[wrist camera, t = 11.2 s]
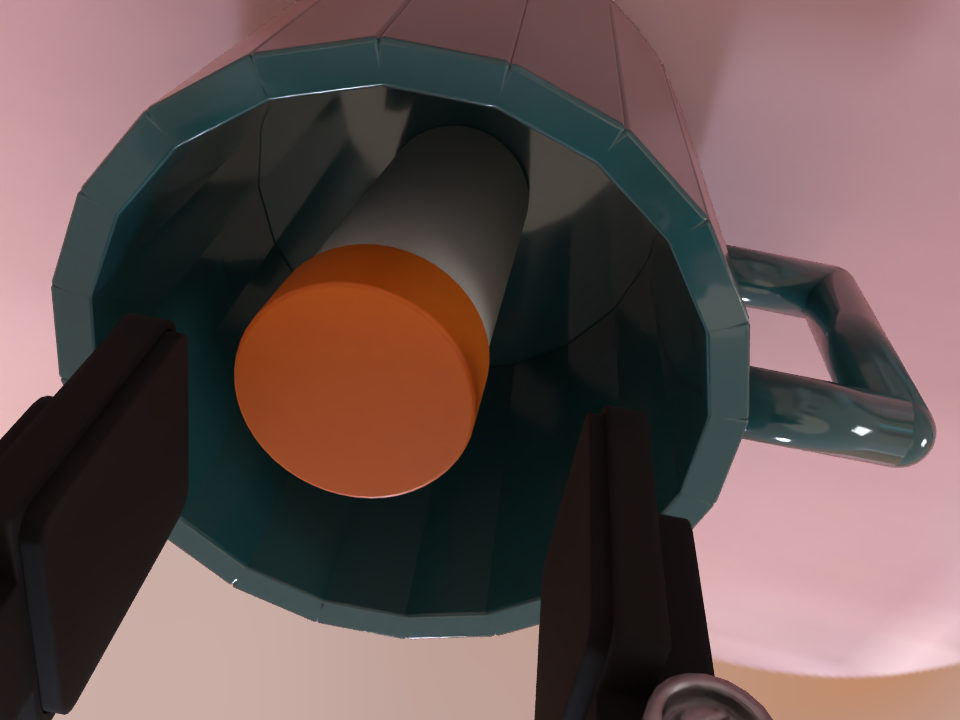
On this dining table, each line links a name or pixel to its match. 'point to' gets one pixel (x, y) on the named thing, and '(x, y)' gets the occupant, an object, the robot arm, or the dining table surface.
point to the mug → (522, 316)
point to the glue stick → (389, 323)
